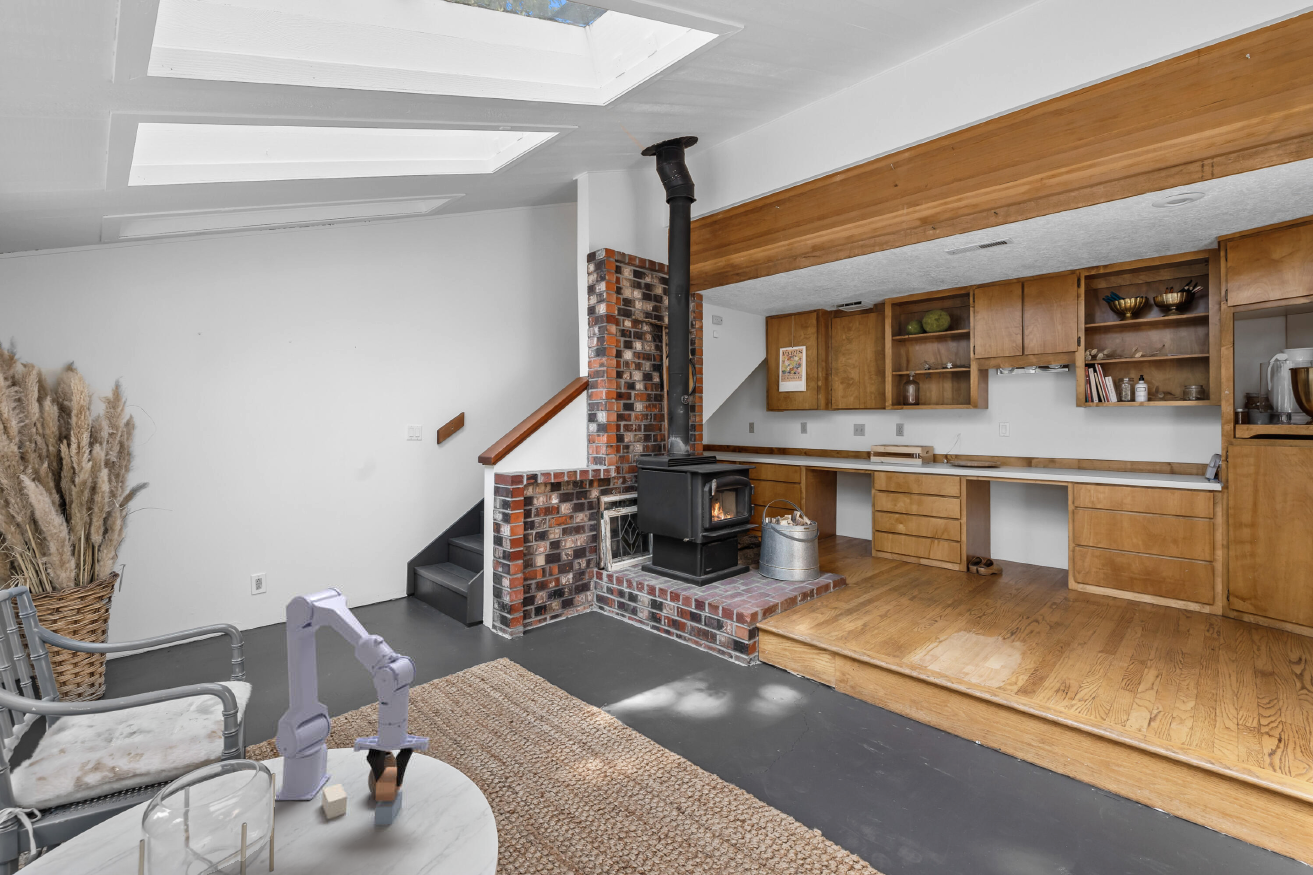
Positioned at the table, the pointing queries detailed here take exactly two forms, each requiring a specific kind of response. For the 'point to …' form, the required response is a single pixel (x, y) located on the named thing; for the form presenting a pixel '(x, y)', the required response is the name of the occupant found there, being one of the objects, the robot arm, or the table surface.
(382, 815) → the slate brick
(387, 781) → the terracotta brick
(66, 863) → the table surface
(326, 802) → the cream brick
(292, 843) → the table surface
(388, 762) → the vase
